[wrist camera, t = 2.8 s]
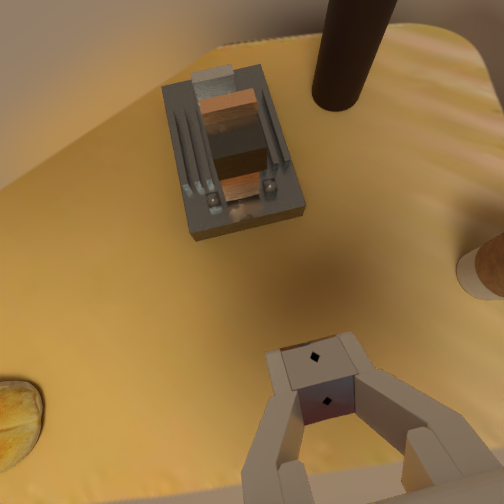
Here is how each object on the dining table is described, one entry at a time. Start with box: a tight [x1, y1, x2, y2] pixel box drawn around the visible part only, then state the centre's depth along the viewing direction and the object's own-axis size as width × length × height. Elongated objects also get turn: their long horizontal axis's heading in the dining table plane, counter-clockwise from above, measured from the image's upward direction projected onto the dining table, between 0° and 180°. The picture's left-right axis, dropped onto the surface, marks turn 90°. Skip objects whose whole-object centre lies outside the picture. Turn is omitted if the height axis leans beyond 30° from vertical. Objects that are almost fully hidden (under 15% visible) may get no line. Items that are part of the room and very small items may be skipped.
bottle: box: [312, 0, 397, 111], centre depth 33 cm, size 7×7×20 cm
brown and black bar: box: [199, 88, 267, 202], centre depth 27 cm, size 4×4×15 cm
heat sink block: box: [161, 64, 306, 241], centre depth 37 cm, size 22×14×6 cm, turn 14°
